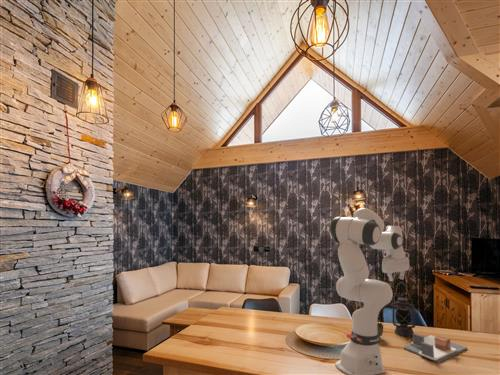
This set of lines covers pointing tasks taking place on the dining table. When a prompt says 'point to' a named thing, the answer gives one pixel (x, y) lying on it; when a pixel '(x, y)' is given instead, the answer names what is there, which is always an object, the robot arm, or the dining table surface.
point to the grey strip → (422, 340)
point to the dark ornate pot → (380, 329)
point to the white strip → (434, 351)
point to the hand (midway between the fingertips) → (396, 280)
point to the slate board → (459, 349)
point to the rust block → (442, 343)
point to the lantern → (403, 317)
